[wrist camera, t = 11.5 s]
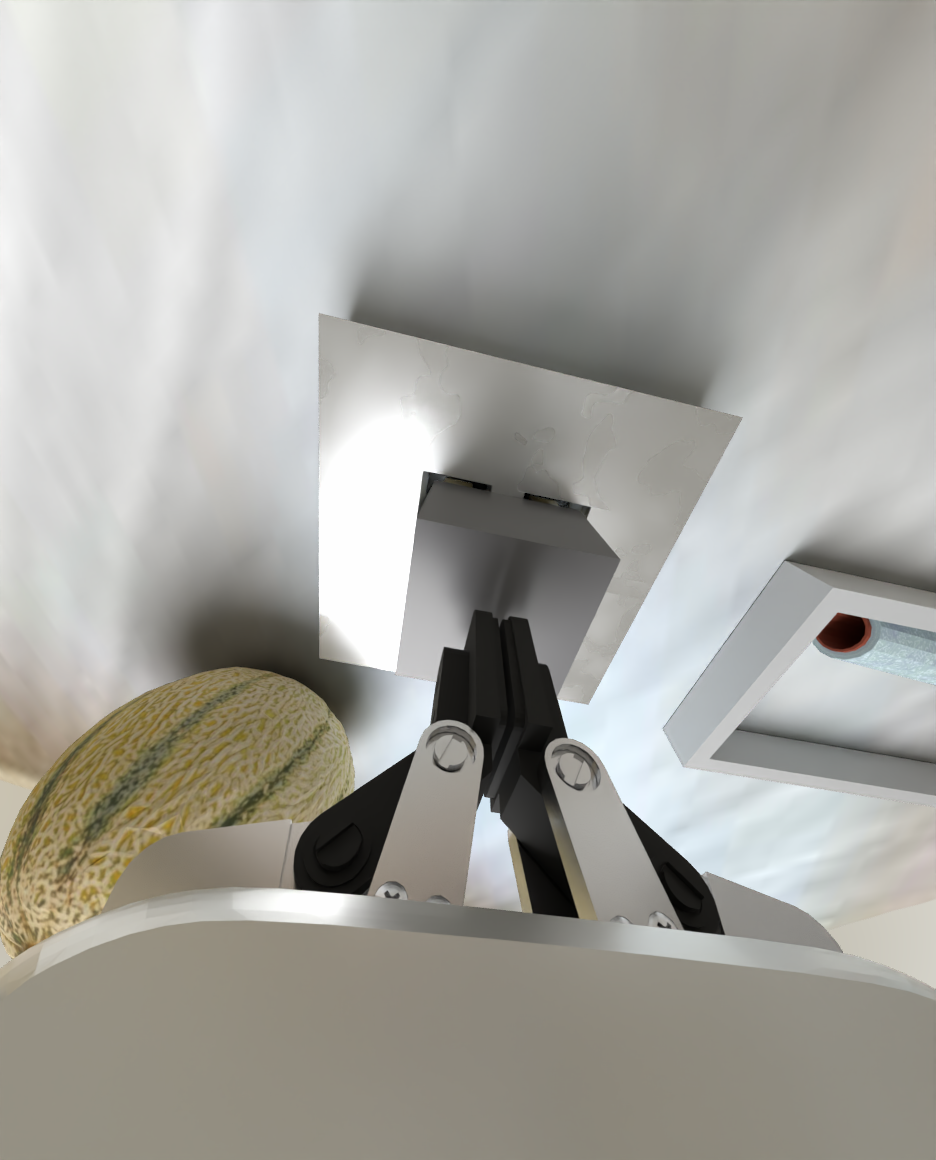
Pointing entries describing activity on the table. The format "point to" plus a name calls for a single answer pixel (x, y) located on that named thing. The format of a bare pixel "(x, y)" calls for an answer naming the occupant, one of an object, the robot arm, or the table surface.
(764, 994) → the robot arm
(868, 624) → the aluminum foil
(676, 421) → the socket
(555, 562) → the plug
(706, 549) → the table surface
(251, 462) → the table surface
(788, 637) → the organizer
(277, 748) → the cantaloupe
